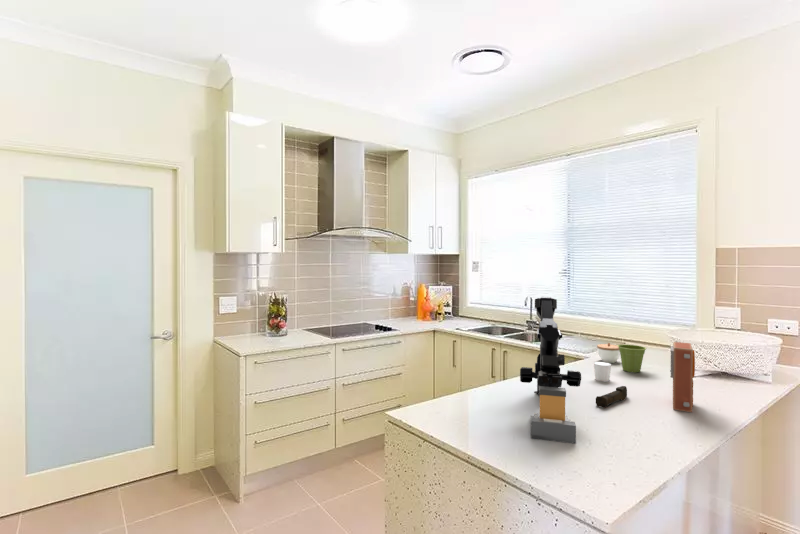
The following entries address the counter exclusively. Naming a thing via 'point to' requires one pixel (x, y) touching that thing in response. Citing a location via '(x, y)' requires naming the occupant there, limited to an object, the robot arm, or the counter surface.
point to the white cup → (602, 371)
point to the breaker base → (553, 429)
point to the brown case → (682, 375)
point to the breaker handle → (552, 403)
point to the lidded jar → (608, 352)
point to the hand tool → (612, 397)
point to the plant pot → (631, 357)
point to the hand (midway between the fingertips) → (550, 400)
